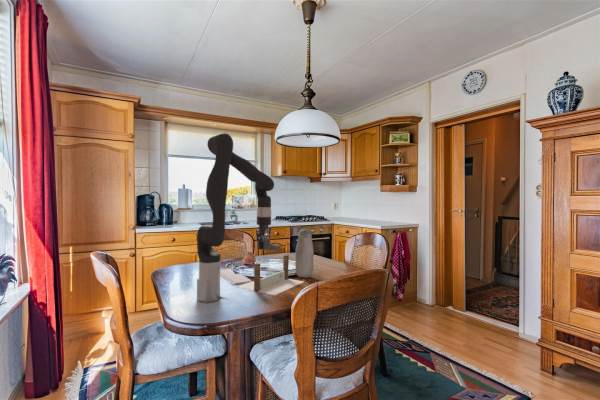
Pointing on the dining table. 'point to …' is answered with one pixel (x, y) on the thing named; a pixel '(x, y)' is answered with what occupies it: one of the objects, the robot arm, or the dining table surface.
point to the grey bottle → (304, 254)
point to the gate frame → (257, 272)
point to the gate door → (272, 279)
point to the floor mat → (274, 286)
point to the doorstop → (268, 245)
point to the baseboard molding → (233, 277)
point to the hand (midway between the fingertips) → (263, 247)
